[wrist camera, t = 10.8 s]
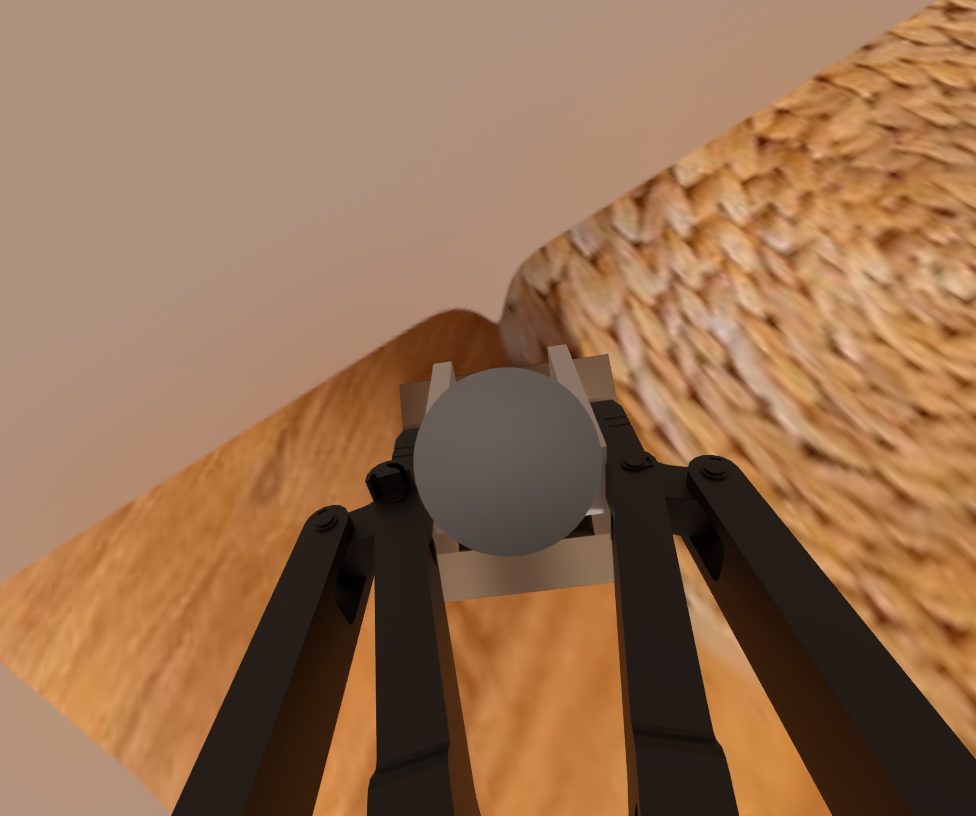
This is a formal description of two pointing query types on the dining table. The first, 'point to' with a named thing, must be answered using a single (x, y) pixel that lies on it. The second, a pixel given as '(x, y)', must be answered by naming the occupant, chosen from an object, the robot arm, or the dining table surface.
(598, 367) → the socket
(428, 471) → the grey cylinder
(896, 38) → the dining table surface
